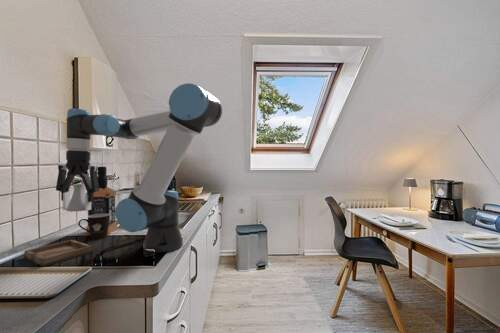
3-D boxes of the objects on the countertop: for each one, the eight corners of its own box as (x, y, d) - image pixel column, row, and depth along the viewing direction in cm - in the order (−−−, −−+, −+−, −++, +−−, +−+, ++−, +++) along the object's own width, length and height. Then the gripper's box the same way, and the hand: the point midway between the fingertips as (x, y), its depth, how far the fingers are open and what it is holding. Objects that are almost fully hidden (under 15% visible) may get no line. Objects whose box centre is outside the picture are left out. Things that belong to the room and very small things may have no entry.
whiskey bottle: (117, 229, 126) (117, 166, 126) (108, 234, 117) (108, 166, 116) (95, 229, 125) (95, 166, 125) (85, 235, 115) (84, 166, 115)
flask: (63, 210, 95) (63, 184, 94) (85, 207, 100) (85, 183, 100) (68, 213, 90) (69, 185, 90) (91, 210, 96) (91, 184, 95)
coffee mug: (114, 235, 116) (114, 213, 116) (101, 240, 107) (101, 217, 107) (91, 233, 117) (91, 212, 117) (76, 239, 109) (76, 216, 109)
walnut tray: (92, 252, 93) (92, 245, 93) (43, 266, 80) (43, 259, 80) (71, 245, 101) (71, 239, 101) (24, 257, 88) (24, 250, 88)
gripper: (110, 151, 98) (109, 208, 99) (59, 149, 98) (58, 206, 99) (99, 150, 91) (97, 212, 91) (43, 148, 91) (42, 210, 91)
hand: (77, 209), depth 95 cm, fingers closed on flask, 8 cm apart
